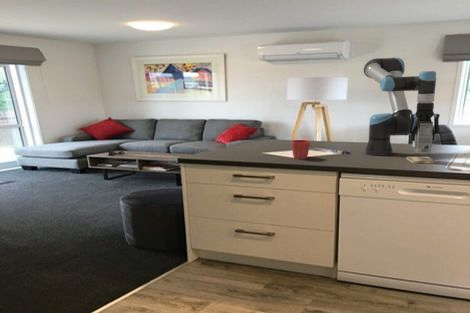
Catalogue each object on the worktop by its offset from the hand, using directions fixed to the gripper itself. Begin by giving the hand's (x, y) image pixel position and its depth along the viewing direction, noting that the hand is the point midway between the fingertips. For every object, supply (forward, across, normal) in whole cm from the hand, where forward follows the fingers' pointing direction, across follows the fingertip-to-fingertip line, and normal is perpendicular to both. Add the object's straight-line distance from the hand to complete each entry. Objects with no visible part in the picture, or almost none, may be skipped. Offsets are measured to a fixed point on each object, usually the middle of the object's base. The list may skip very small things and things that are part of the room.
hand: (421, 146), depth 175 cm
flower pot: (+8, -62, +7) cm, 63 cm away
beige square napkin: (+8, 0, 0) cm, 8 cm away
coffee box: (+3, 0, 0) cm, 3 cm away
